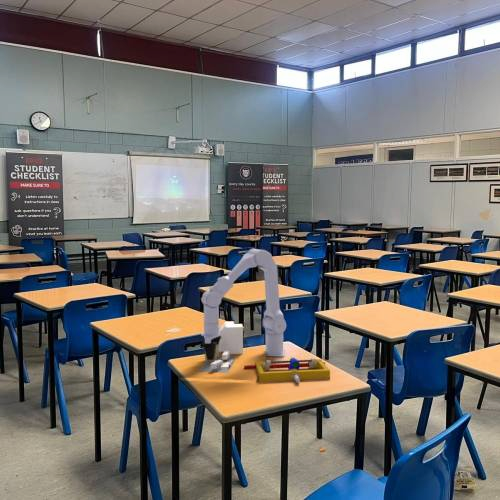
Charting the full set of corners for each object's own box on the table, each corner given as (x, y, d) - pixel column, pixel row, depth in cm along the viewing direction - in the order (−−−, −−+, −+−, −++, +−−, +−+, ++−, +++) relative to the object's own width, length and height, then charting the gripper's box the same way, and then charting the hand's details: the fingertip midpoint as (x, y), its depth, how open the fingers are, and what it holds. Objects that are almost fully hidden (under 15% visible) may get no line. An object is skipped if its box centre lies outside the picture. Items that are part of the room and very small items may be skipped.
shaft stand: (209, 358, 203) (209, 349, 202) (236, 359, 201) (236, 350, 201) (197, 374, 184) (197, 363, 184) (227, 375, 182) (227, 364, 182)
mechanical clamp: (243, 354, 188) (323, 351, 191) (243, 371, 189) (323, 367, 192) (249, 369, 170) (337, 366, 173) (249, 388, 170) (336, 384, 174)
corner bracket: (243, 356, 206) (242, 326, 205) (214, 357, 205) (214, 327, 205) (241, 349, 217) (241, 321, 216) (214, 349, 216) (214, 321, 215)
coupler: (207, 358, 199) (207, 342, 199) (218, 359, 199) (218, 342, 198) (205, 362, 195) (204, 345, 194) (216, 362, 194) (216, 345, 194)
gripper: (205, 318, 203) (206, 351, 204) (196, 326, 189) (197, 362, 190) (222, 318, 202) (223, 352, 203) (215, 326, 188) (215, 362, 189)
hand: (212, 357), depth 197 cm, fingers open, 6 cm apart
